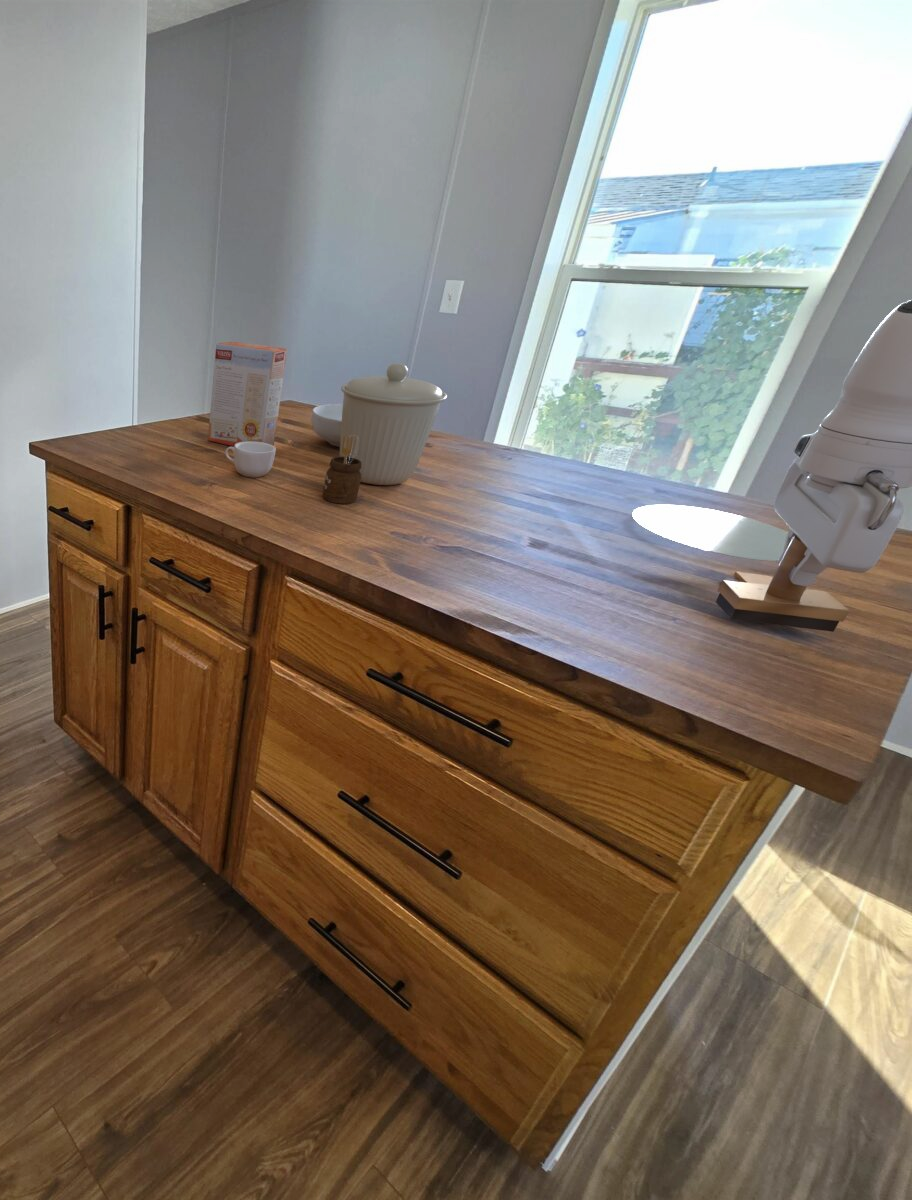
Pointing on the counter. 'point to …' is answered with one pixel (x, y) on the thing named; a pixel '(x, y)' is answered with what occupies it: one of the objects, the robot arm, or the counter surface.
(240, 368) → the cracker box
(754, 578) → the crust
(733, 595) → the brush
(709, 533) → the disc
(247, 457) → the teacup
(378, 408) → the canister
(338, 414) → the cereal bowl
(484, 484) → the counter surface
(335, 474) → the utensil holder
